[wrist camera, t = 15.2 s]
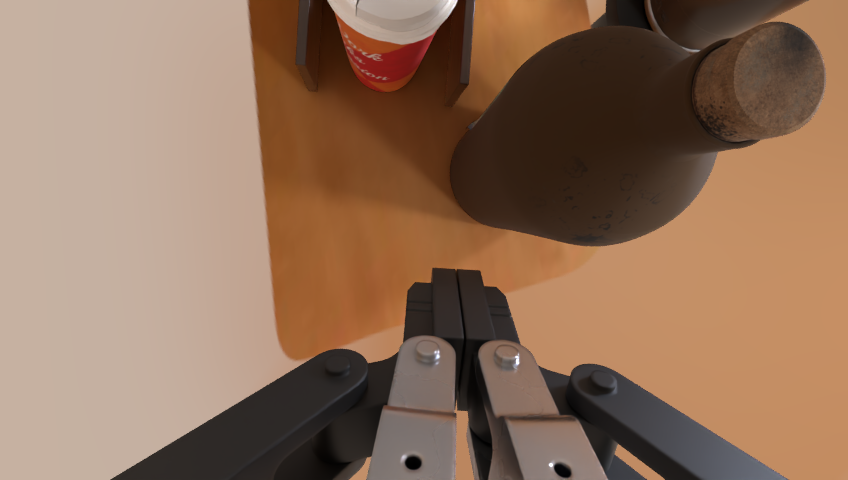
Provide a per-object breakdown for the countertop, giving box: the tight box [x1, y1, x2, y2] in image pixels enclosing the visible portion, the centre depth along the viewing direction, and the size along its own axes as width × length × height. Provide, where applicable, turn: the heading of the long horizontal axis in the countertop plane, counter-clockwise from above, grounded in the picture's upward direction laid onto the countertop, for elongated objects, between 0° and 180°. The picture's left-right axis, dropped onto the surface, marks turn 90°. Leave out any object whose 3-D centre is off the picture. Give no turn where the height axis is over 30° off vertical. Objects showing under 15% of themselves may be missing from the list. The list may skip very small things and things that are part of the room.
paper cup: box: [327, 0, 458, 92], centre depth 28 cm, size 8×8×14 cm
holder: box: [296, 0, 475, 107], centre depth 32 cm, size 12×10×6 cm
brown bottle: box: [450, 22, 826, 246], centre depth 24 cm, size 11×11×25 cm
